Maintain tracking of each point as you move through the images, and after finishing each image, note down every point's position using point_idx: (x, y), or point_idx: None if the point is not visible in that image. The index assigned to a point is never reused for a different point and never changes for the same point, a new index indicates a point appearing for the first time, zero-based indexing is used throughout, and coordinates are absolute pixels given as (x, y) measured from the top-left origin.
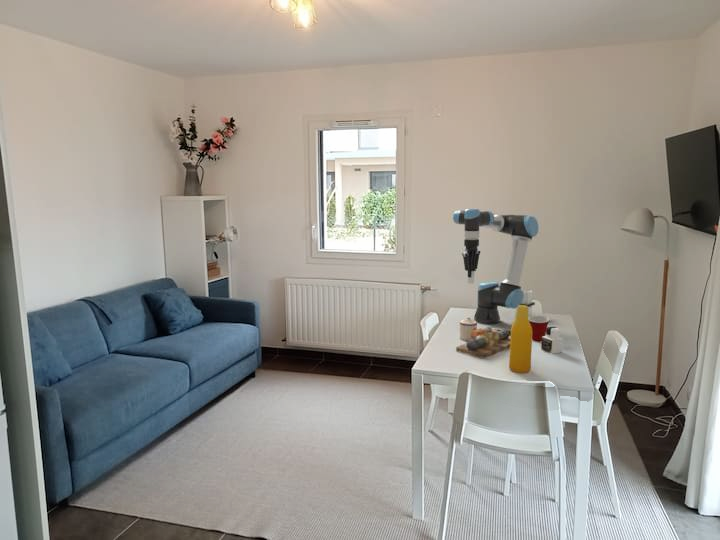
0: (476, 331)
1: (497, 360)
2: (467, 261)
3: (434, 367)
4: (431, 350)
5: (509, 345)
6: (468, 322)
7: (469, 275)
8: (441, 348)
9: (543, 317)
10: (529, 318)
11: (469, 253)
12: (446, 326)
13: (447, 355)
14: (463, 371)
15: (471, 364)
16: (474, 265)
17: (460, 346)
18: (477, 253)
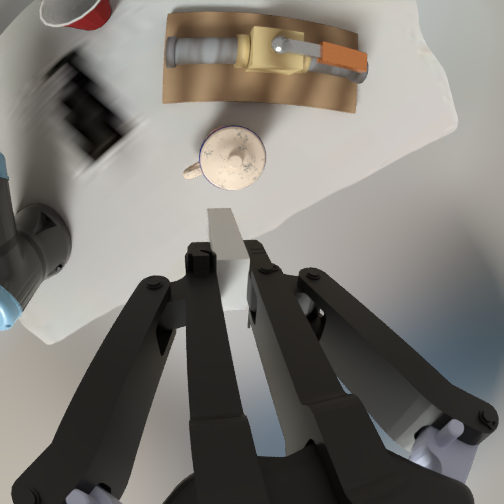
0: (360, 57)
1: (342, 7)
2: (408, 346)
3: (445, 106)
4: (380, 163)
5: (229, 13)
6: (253, 146)
7: (264, 253)
8: (356, 152)
9: (44, 6)
10: (75, 19)
11: (424, 471)
12: (170, 272)
13: (388, 114)
14: (432, 53)
15: (399, 48)
16: (204, 310)
17: (346, 105)
18: (91, 495)
